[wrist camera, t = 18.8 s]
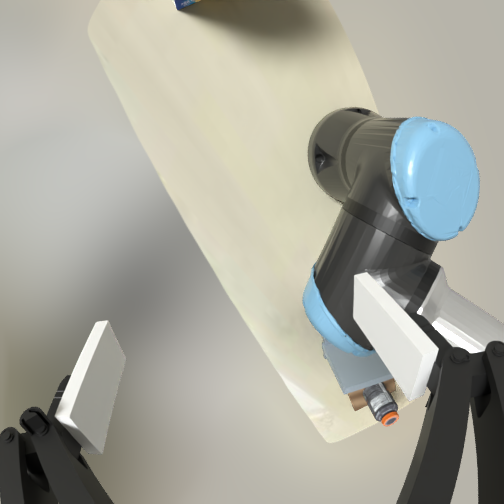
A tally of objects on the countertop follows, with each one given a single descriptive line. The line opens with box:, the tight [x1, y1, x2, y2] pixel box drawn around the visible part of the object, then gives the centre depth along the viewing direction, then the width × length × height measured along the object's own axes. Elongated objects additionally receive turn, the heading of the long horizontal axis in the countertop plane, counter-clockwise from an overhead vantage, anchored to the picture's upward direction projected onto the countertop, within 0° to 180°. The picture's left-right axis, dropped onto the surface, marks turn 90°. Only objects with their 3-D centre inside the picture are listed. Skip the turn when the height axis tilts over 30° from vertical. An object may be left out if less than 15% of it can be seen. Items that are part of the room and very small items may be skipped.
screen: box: [322, 337, 394, 394], centre depth 52 cm, size 16×6×13 cm, turn 99°
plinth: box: [348, 378, 396, 411], centre depth 65 cm, size 12×12×1 cm
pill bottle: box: [363, 382, 399, 426], centre depth 59 cm, size 6×6×11 cm
